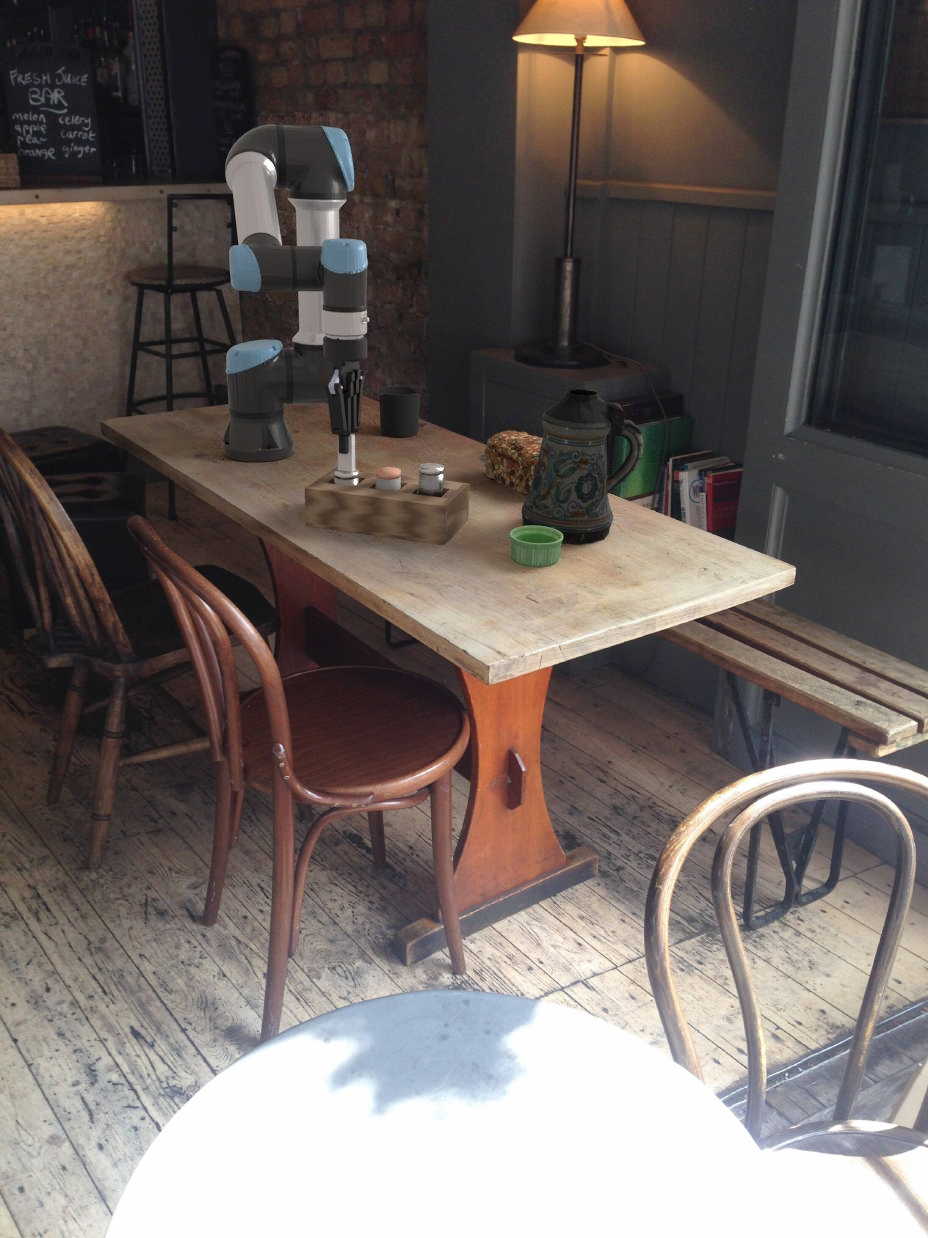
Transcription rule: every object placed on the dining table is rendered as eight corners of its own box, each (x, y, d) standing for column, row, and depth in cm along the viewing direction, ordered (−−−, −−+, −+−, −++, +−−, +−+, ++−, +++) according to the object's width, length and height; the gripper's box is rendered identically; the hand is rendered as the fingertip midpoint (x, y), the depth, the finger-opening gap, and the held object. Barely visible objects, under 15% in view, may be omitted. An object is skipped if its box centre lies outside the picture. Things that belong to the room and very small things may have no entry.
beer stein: (506, 519, 202) (513, 383, 191) (600, 510, 208) (612, 378, 198) (543, 549, 188) (553, 405, 177) (643, 539, 194) (658, 399, 184)
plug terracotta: (372, 507, 195) (372, 472, 192) (381, 500, 198) (381, 465, 196) (395, 510, 193) (395, 475, 191) (403, 503, 197) (404, 468, 195)
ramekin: (529, 545, 190) (530, 521, 188) (572, 558, 184) (574, 534, 183) (497, 558, 183) (498, 534, 181) (541, 573, 178) (542, 547, 176)
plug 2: (414, 504, 192) (415, 468, 189) (422, 496, 196) (423, 461, 193) (438, 507, 191) (439, 471, 188) (446, 500, 195) (447, 464, 192)
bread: (482, 478, 225) (484, 430, 221) (522, 471, 231) (525, 424, 227) (538, 503, 211) (541, 453, 207) (580, 495, 217) (584, 445, 213)
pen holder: (426, 431, 257) (427, 389, 253) (407, 440, 249) (408, 396, 245) (391, 426, 261) (391, 384, 256) (371, 434, 253) (371, 391, 249)
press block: (305, 525, 194) (304, 487, 192) (336, 502, 207) (336, 466, 204) (444, 545, 188) (445, 506, 185) (468, 520, 200) (469, 483, 197)
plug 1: (330, 507, 197) (330, 472, 194) (340, 500, 201) (339, 466, 198) (353, 510, 196) (353, 475, 193) (362, 503, 200) (362, 468, 197)
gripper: (350, 343, 179) (352, 481, 189) (379, 331, 191) (379, 462, 200) (308, 339, 181) (312, 476, 191) (339, 327, 193) (341, 458, 202)
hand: (346, 469), depth 195 cm, fingers closed
